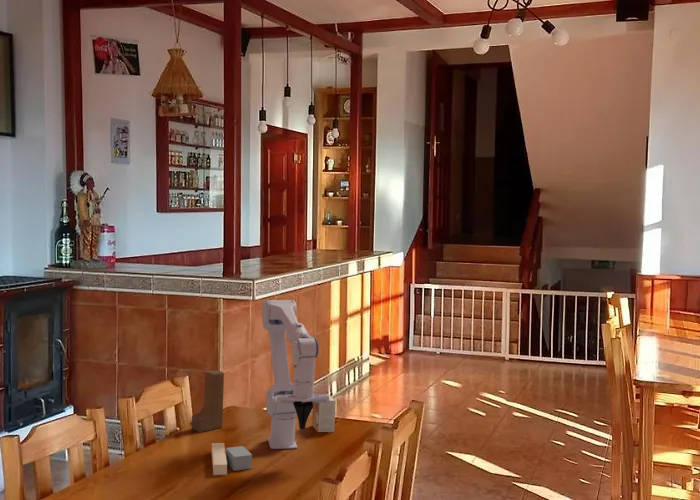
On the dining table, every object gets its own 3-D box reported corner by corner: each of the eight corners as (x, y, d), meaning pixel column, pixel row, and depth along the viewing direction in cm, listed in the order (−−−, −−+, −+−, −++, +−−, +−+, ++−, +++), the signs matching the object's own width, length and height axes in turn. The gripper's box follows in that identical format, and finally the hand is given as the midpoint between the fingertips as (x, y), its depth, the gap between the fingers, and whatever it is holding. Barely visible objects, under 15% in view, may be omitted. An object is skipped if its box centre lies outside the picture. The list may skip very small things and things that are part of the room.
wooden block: (199, 432, 238) (200, 376, 237) (190, 429, 241) (192, 373, 240) (222, 427, 244) (224, 372, 243) (214, 424, 248) (216, 369, 246)
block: (225, 461, 214) (226, 447, 214) (242, 459, 216) (243, 446, 216) (234, 471, 207) (234, 456, 206) (251, 469, 209) (252, 455, 209)
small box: (311, 425, 251) (312, 394, 250) (327, 425, 252) (329, 393, 252) (317, 433, 243) (319, 400, 242) (334, 432, 245) (336, 400, 244)
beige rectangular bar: (211, 452, 220) (211, 443, 220) (223, 452, 221) (224, 443, 221) (213, 475, 202) (213, 464, 202) (226, 474, 203) (227, 464, 203)
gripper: (279, 384, 208) (277, 432, 209) (331, 383, 211) (329, 431, 212) (276, 378, 215) (275, 425, 216) (327, 377, 218) (325, 424, 219)
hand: (302, 428), depth 214 cm, fingers closed
